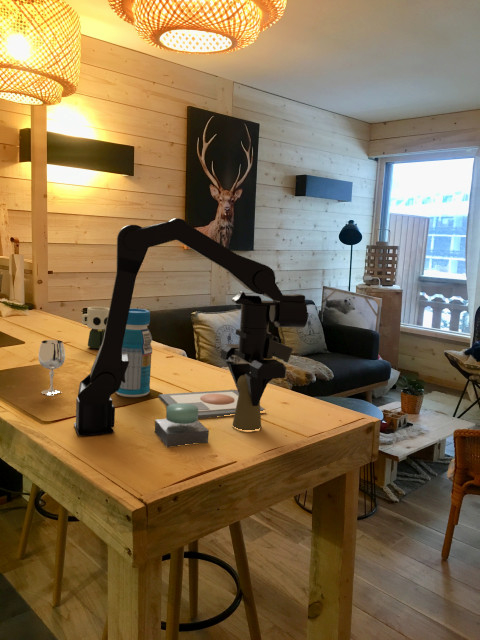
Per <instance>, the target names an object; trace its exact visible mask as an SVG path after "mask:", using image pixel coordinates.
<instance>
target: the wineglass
mask: <svg viewBox="0 0 480 640" xmlns="http://www.w3.org/2000/svg"><path fill="white" fill-rule="evenodd" d="M65 360H66V351H65V345H64V342H63V340H60V339H59V340H58V339H46V340H41V343H40V346H39V350H38V363H39V365H40V366H41V367H43V368H45V369H47V370H50V371H49V373H48V374H49V379H50V387H49V388H48V389H44V390H42V391H41V393H42V394H41V393H40V394H41V395H43V394H45V395H44V396H55V395H54V394H57V393H60V391H61V390H60V391H59V389H56V390H55V388H54V386H53V383H54V382H53V381H54V376H55V371H54V370H56V369H58V368H60V367H62V366H63V365H64V364H65ZM52 394H53V395H52Z"/></svg>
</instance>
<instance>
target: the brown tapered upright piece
mask: <svg viewBox="0 0 480 640" xmlns="http://www.w3.org/2000/svg"><path fill="white" fill-rule="evenodd" d="M237 385H238V389H239V396H238V401H237V405H236V410H235V415H234V416H233V421H232V425H233V426H234V427H236V428H238V429H242V430H255V429H259V428H260V427H261V428H262V416H261V415H262V414H261V413H260V406H261V401H260V402H259V404H258V406H253V405H252V402H251V398H250V394H249V389H248V384H247V380H246V375H242V376H240V377H239V379H238V381H237Z"/></svg>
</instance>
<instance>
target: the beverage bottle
mask: <svg viewBox="0 0 480 640" xmlns="http://www.w3.org/2000/svg"><path fill="white" fill-rule="evenodd" d="M150 323H151V312H150V310H148V309H144V308H130V310H129V315H128V320H127V325H126V330H125V335H124V340H123V345H122V355H128V359H129V364H128V367H127V370H126V372H125V383H124V382H122V383H121V386H120V388H119V390H118V391H117V392H115V394H117V395H118V396H120V397H124V398H140V397H145V396H147V395H148V394H150V390H151V386H150V385H151V370H152V369H151V368H152V367H151V365H152V355H153V347H152V345H151V343H152V342H153V336H152V334H151V331H150V330H149V328H148V326H150Z"/></svg>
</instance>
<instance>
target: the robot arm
mask: <svg viewBox="0 0 480 640" xmlns="http://www.w3.org/2000/svg"><path fill="white" fill-rule="evenodd" d="M116 236H117V237H116V273H115V277H114V282H113V283H114V284H113V288H112V294H111V298H110V303H109V307H108V308H109V313H108V318H107V323H106V328H105V334H104V339H103V342H102V345H101V346H100V348H98V352H97V354H96V356H95V358H94V361H93V364H92V366H91V369H90V373H89V374H88V375H87V376H85V378H83V379H82V380H81V381H80V382H79V387H78V391H77V392H78V393H77V396H76V399H75V400H76V402H75V403H76V404H75V405H76V406H75V422H73V426H74V429H75V432H76V433H77V436H79V437H87V436H89V437H90V436H97V435H98V436H99V435H109V434H111V435H112V434H114V429H113V428H115V420H116V419H115V417H116V416H115V415H116V406H115V405H114V404H113V399H112V395H113V394H116V392H117V391H118V390H119V388H120V386H121V383H122V382H124V383H125V372H126V370H127V367H128V364H129V359H128V355H122V345H123V340H124V335H125V330H126V325H127V320H128V315H129V310H130V309H131V306H132V305H131V304H132V298H133V294H134V289H135V285H136V280H137V277H138V276H137V275H138V273H139V271H140V269H141V267H142V264H143V262H144V260H145V257H146V255H147V253H148V250H149V248H152V247H156V246H159V245H163V244H167V243H170V242H173V241H177V242H178V243H181V244H182V245H184V246H186V247H187V248H188V249H190V250H192V251H194V252H195V253H197V254H199V255H200V256H202V257H204V258H206V259H207V260H209V262H210V261H211V262H212V263H213V264H215V265H216V266H219V267H220V268H222V269H223V270H224V271H226V272H227V273H228V274H229V275H230V276H231V277H233V278H234V280H236V281H237V282H238V283H239V284H240V285H242V287H244V288H245V289H246V290H248V291H250V292H252V293H255V294H258V295H251V294H250V295H249V294H245V292H244V291H242V290H240V291H239V292H238V294H236V295H235V296H234V297H232V299H231V302H232V303H234V304H235V305H241V306H240V307H241V308H240V323H239V329H236V330H235V335H237V336H238V343H235V344H234V343H233V344H230V343H227V344H224V345H223V346H222V347H221V348H220V358H222V359H223V360H225V364H226V365H227V367H228V369H229V372H230V374H231V376H232V379H233V382H234V385H235V388H236V390H237V391H238V393H239V389H238V385H237V381H238V379H239V377H240V376H242V375H246V380H247V384H248V389H249V394H250V398H251V402H252V405H253V406H258V404H259V402H260V403H261V399H262V396H263V394H264V392H265V390H266V387H267V385H268V384H269V382H271V381H272V380H273V379H285V378H286V377H287V366H286V365H285V363H289V362H290V358H291V356H292V354H293V351H294V348H293V347H290V346H287V345H285V344H283V343H281V342H280V338H279V337H277V336H276V335H273V333H272V332H269V326H270V322H271V323H273V325H274V327H276V328H293V329H295V328H296V329H298V328H299V329H301V328H302V329H303V328H306V326H307V323H308V319H309V312H308V307H307V302H306V295H304V294H297V293H296V294H283V293H282V291H281V290H280V288H279V287H278V285H277V283H276V279H277V278H276V274H275V271H274V270H273V268H271V267H270V266H268V265H266V264H263V263H261V262H258V261H256V260H253V259H251V258H248V257H245V256H243V255H240V254H237V253H236V252H235V251H234V252H233V250H231V249H229V248H228V247H226V246H224V245H223V244H221V243H219V242H218V241H216V240H215V239H213V238H211V236H208V235H207V234H205V233H203V232H201V231H200V230H198V229H197V228H195V227H193V226H192V225H190V224H189V223H188V222H187V221H186V220H185V219H182V218H180V217H179V218H177V217H176V218H172V219H170V220H168V221H165V222H164V221H163V222H161V223H156V224H151V225H148V226H144V227H143V226H140V225H138V224H129V225H125V226H123V227H122V228H121V229H120V230H119V231H118V232H117V235H116ZM260 295H262V296H264V297H266V298H268V299H270V300H262V297H261V296H260ZM273 357H274V359H273ZM275 358H276V359H277V360H276V359H275ZM278 359H279V360H282V361H283V362H285V363H283V362H281V361H279V360H278ZM226 360H227V361H226Z"/></svg>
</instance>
